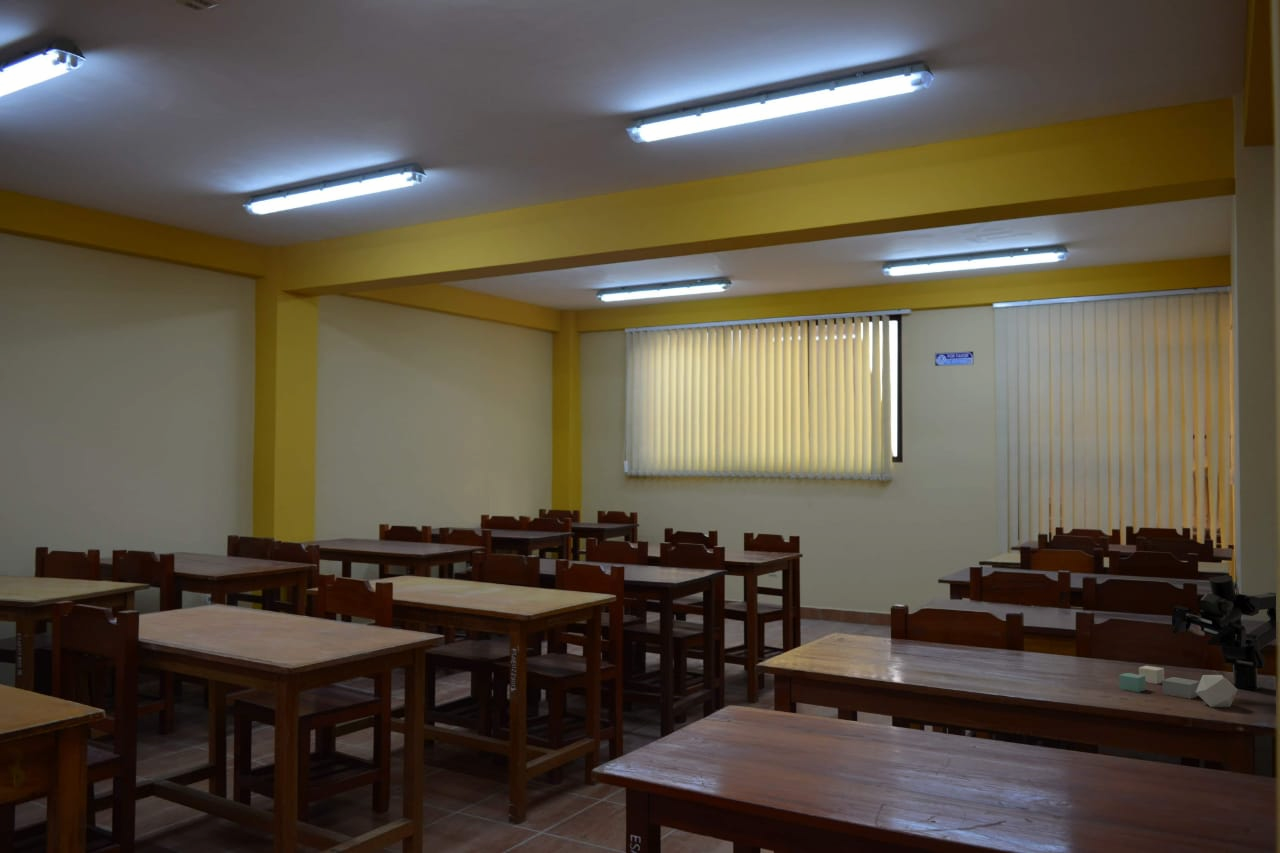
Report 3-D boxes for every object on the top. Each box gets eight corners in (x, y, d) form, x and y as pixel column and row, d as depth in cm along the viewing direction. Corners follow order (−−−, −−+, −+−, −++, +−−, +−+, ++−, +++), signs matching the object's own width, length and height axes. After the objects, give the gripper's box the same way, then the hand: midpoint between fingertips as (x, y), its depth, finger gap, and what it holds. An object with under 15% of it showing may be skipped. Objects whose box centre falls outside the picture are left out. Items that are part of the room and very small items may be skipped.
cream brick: (1146, 679, 274) (1146, 665, 274) (1164, 682, 270) (1164, 668, 270) (1139, 681, 271) (1138, 667, 271) (1157, 684, 267) (1156, 670, 267)
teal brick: (1127, 687, 264) (1126, 672, 264) (1145, 690, 260) (1145, 675, 260) (1119, 689, 260) (1119, 675, 261) (1138, 692, 257) (1137, 678, 257)
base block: (1173, 691, 259) (1172, 676, 259) (1200, 696, 254) (1200, 681, 254) (1162, 694, 255) (1162, 680, 255) (1190, 699, 249) (1189, 684, 249)
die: (1236, 714, 236) (1247, 681, 239) (1203, 696, 237) (1214, 663, 241) (1217, 718, 243) (1228, 686, 247) (1185, 700, 245) (1197, 668, 248)
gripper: (1188, 580, 265) (1157, 599, 258) (1258, 601, 249) (1227, 622, 242) (1188, 615, 268) (1156, 635, 261) (1257, 638, 252) (1226, 659, 245)
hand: (1190, 637), depth 252 cm, fingers open, 9 cm apart
